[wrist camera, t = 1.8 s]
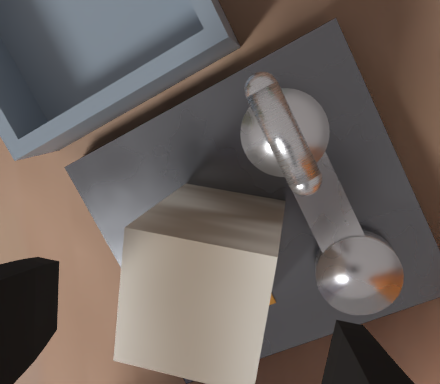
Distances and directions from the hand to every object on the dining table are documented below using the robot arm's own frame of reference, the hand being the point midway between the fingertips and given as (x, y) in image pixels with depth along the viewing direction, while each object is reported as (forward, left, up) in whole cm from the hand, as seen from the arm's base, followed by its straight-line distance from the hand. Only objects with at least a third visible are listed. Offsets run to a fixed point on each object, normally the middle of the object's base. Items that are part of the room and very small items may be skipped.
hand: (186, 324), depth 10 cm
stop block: (0, 0, -7) cm, 7 cm away
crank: (+4, 0, -6) cm, 7 cm away
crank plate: (+1, 0, -8) cm, 8 cm away
